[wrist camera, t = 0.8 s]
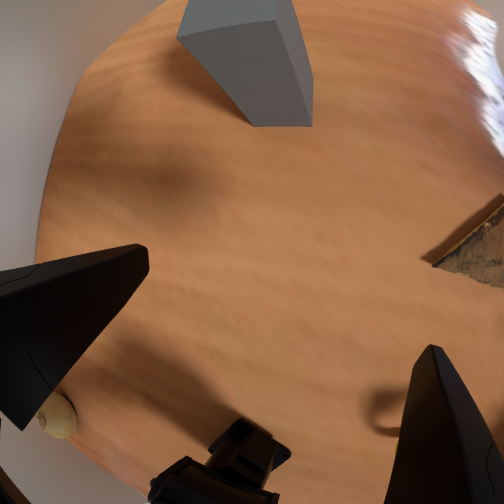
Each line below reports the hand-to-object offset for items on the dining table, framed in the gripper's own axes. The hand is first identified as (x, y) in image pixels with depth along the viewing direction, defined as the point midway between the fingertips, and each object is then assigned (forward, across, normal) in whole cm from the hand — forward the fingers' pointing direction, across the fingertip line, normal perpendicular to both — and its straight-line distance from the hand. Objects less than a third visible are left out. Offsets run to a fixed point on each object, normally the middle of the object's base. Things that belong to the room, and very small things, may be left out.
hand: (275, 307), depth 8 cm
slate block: (+19, +6, -5) cm, 21 cm away
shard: (+16, -15, +2) cm, 22 cm away
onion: (-1, +27, +36) cm, 45 cm away
